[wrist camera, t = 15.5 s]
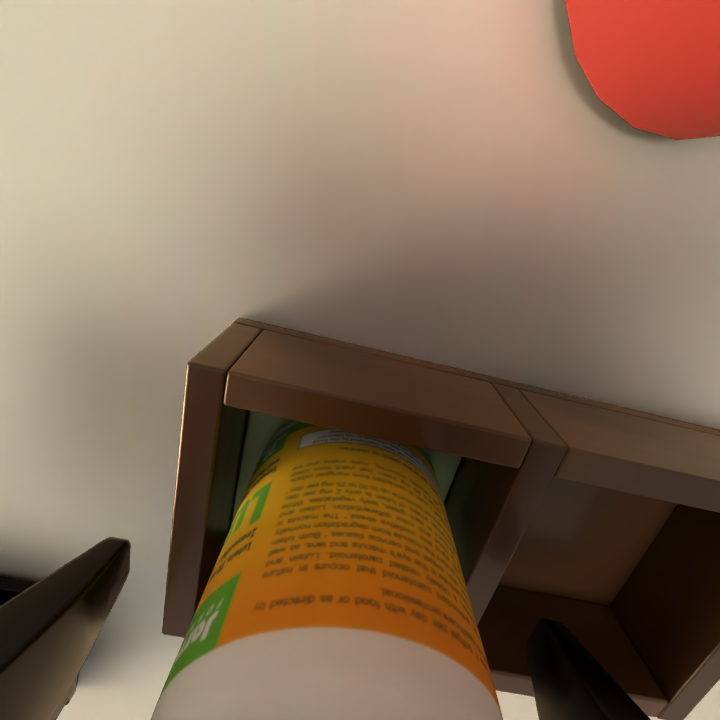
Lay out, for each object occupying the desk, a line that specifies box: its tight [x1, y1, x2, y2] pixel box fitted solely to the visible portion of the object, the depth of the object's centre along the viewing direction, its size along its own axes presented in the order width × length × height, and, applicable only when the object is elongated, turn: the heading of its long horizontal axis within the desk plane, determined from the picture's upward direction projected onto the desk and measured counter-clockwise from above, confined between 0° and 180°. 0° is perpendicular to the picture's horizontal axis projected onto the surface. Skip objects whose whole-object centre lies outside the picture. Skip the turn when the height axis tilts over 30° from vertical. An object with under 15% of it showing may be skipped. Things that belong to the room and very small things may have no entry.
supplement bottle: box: [151, 420, 503, 720], centre depth 7 cm, size 5×5×10 cm
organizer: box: [162, 318, 720, 720], centre depth 11 cm, size 15×8×4 cm, turn 76°
